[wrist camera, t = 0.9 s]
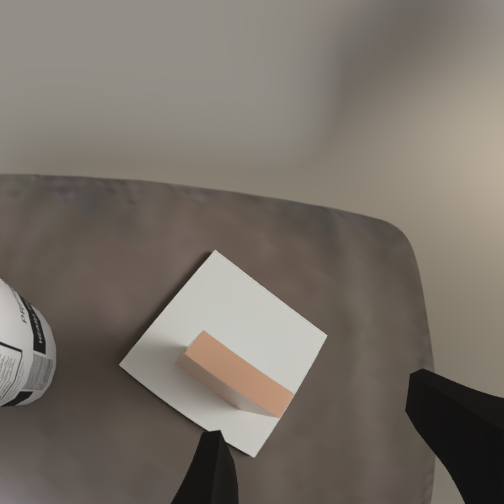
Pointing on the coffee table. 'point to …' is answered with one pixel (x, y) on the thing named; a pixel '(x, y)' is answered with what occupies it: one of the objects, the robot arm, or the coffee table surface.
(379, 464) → the coffee table surface
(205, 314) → the mat
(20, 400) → the supplement can
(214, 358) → the tile
